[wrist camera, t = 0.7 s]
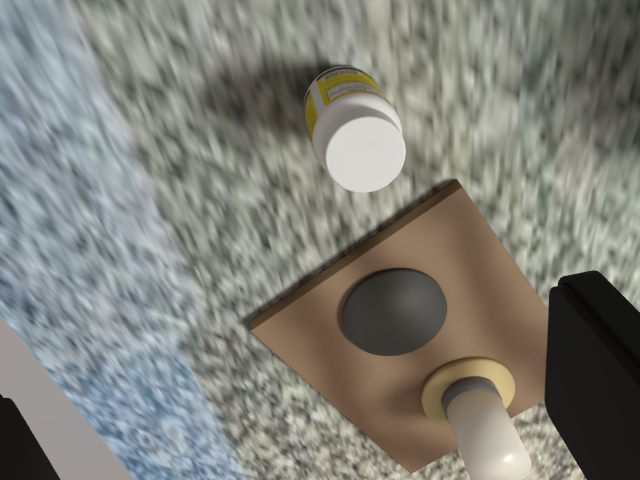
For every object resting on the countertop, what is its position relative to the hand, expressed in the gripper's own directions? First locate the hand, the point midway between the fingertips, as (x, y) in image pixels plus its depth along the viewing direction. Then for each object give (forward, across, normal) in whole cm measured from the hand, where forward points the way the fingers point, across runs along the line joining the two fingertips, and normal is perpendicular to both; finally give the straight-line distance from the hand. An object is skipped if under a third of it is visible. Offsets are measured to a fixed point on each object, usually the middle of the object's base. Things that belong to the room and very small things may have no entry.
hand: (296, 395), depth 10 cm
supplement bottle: (+27, -4, +4) cm, 28 cm away
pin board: (+27, -8, +24) cm, 37 cm away
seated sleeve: (+25, -11, +29) cm, 40 cm away
